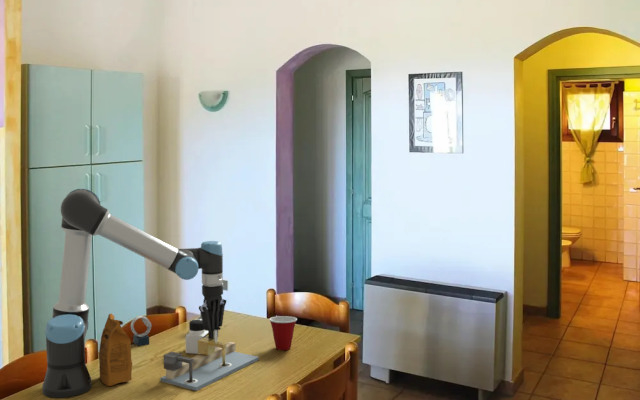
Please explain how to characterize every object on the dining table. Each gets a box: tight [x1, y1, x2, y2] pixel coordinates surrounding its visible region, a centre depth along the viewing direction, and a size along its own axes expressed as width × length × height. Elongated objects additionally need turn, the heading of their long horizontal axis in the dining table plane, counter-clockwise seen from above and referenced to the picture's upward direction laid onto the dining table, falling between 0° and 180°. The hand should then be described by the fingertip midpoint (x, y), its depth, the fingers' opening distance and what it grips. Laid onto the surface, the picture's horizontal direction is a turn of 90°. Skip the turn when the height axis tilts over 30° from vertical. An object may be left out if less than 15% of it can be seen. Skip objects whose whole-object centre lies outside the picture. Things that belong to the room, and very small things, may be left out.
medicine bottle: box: [185, 318, 209, 355], centre depth 258 cm, size 7×7×12 cm
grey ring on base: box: [130, 315, 153, 347], centre depth 267 cm, size 6×8×11 cm
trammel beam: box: [163, 341, 237, 382], centre depth 239 cm, size 34×11×8 cm, turn 148°
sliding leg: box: [198, 337, 226, 365], centre depth 241 cm, size 4×11×8 cm, turn 58°
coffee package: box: [98, 313, 133, 387], centre depth 228 cm, size 10×12×22 cm
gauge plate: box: [160, 351, 260, 392], centre depth 238 cm, size 34×16×1 cm, turn 148°
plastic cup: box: [269, 315, 298, 351], centre depth 261 cm, size 11×11×12 cm
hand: (213, 347), depth 246 cm, fingers closed
